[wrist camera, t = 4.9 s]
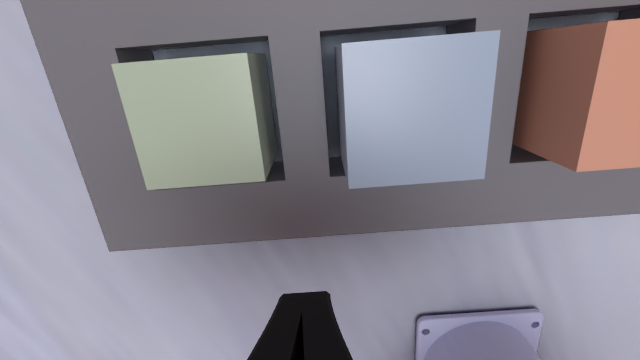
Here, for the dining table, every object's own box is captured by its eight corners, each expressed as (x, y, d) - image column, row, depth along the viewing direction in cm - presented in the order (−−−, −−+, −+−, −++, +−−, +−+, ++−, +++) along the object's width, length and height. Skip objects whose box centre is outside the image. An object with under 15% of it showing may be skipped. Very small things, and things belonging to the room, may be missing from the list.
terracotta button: (612, 135, 15) (715, 161, 11) (509, 142, 15) (576, 172, 11) (640, 22, 14) (772, 7, 10) (524, 31, 14) (608, 21, 10)
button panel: (634, 186, 18) (693, 209, 15) (140, 222, 19) (109, 251, 16) (711, -85, 14) (813, -122, 11) (64, -27, 14) (2, -48, 11)
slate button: (441, 148, 15) (484, 178, 11) (340, 155, 15) (348, 188, 12) (447, 38, 14) (500, 29, 10) (334, 47, 14) (341, 43, 10)
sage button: (277, 152, 17) (265, 181, 13) (186, 159, 17) (147, 190, 13) (265, 54, 15) (246, 52, 11) (163, 62, 15) (110, 63, 11)
